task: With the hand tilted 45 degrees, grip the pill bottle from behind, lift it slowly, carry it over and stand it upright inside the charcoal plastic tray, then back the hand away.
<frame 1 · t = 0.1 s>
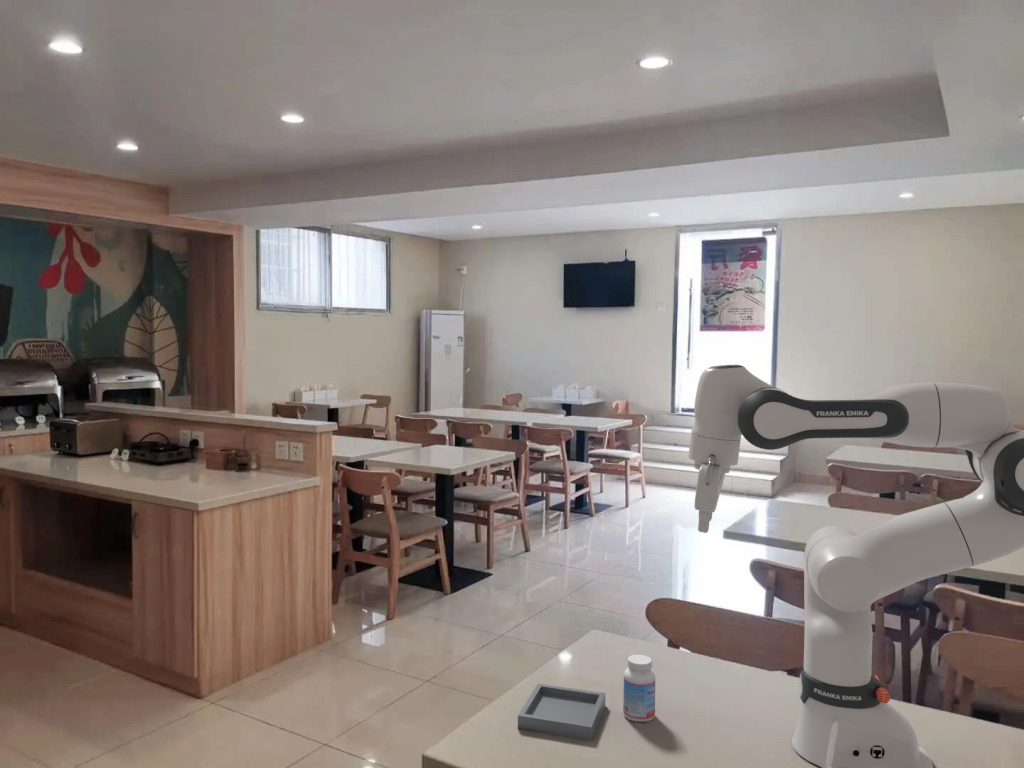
hand: (704, 525, 140), 39 cm above the table, tool pointing down, fingers open, 8 cm apart
pill bottle: (639, 716, 148), on the table
tray: (562, 716, 147), on the table
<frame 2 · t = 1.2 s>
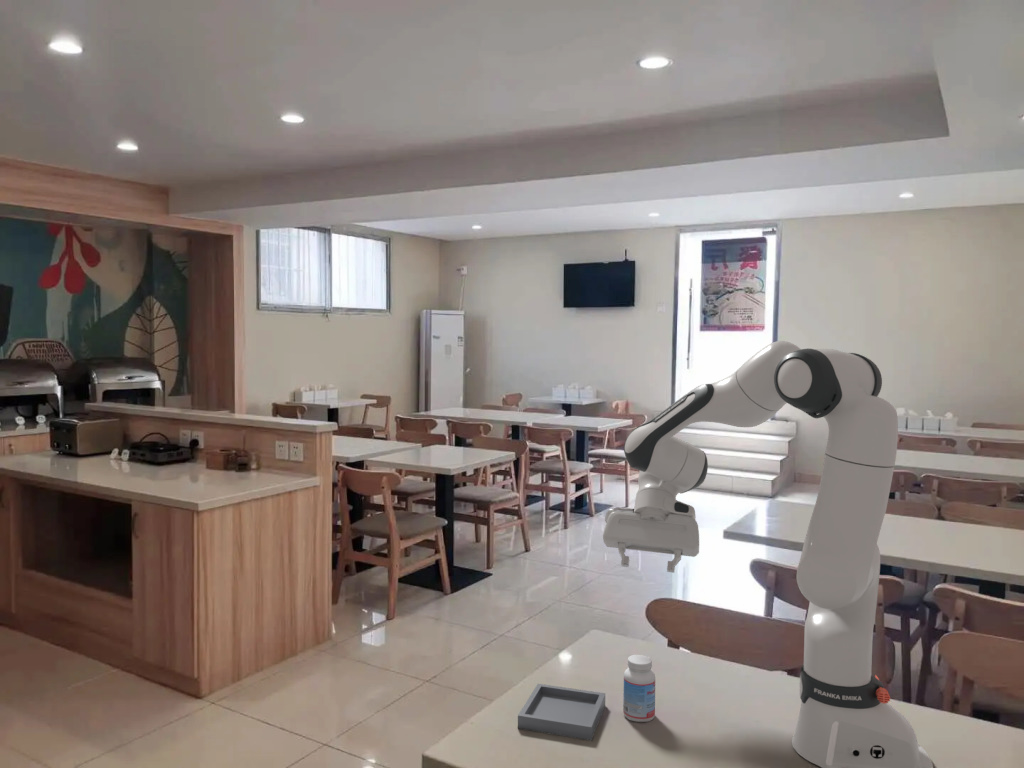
hand: (647, 568, 158), 26 cm above the table, tool tilted 45°, fingers open, 8 cm apart
nothing on the table moved.
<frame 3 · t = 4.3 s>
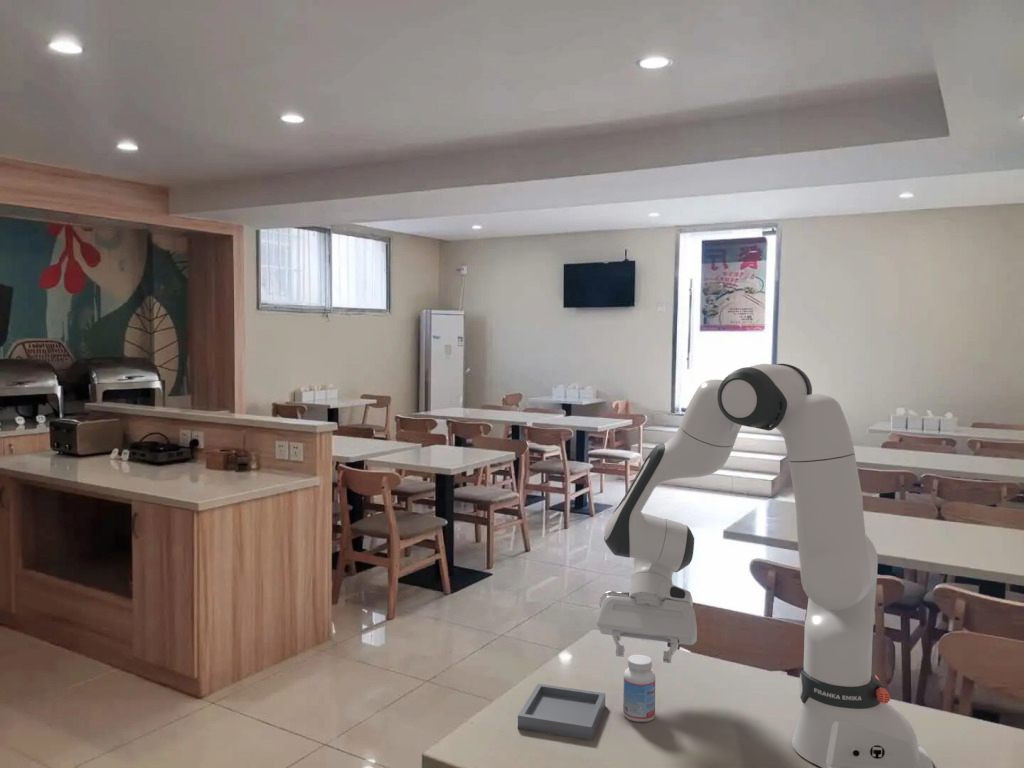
hand: (643, 658, 152), 9 cm above the table, tool tilted 45°, fingers open, 8 cm apart
nothing on the table moved.
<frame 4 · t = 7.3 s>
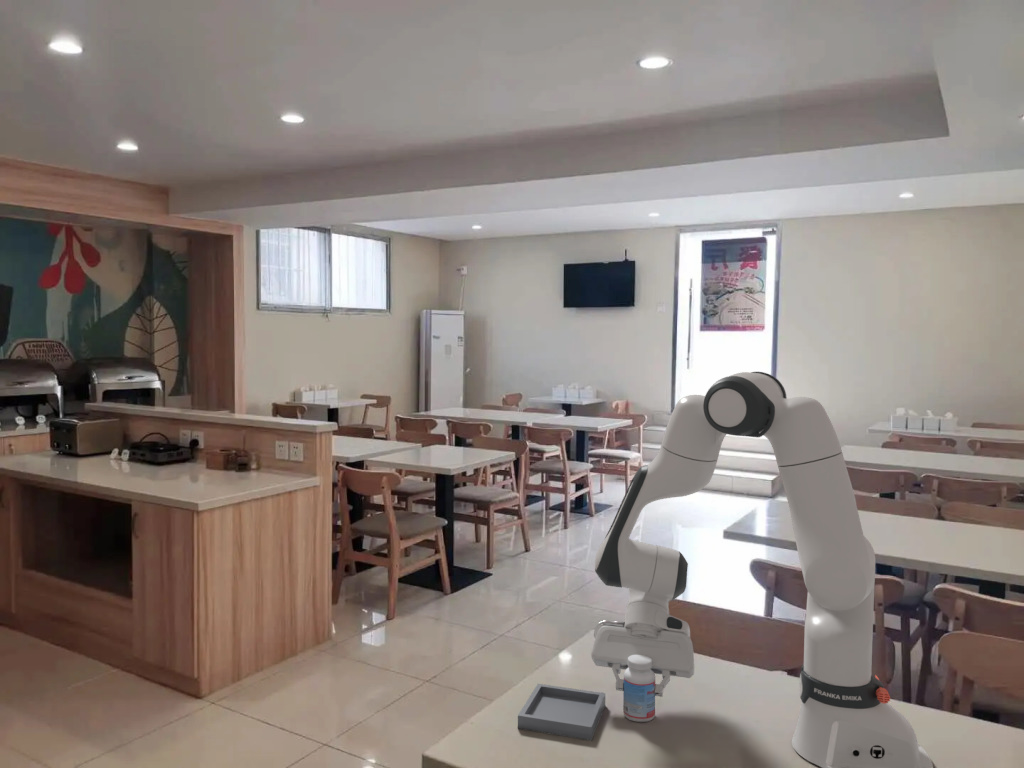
hand: (638, 692, 147), 5 cm above the table, tool tilted 45°, fingers closed on pill bottle, 6 cm apart
pill bottle: (639, 716, 148), on the table, touching gripper
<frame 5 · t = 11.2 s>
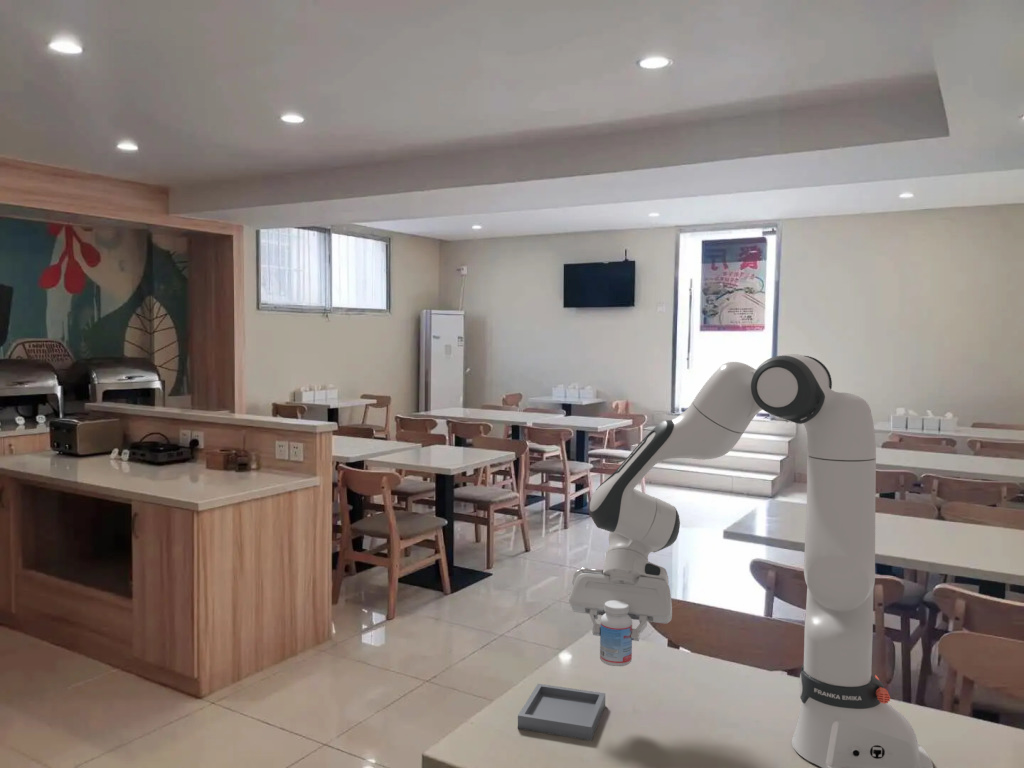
hand: (615, 637, 146), 16 cm above the table, tool tilted 45°, fingers closed on pill bottle, 6 cm apart
pill bottle: (615, 661, 147), point 11 cm above the table, touching gripper
when the fingers open (7 cm above the table, at t = 15.3 s): pill bottle drops 1 cm, resting on tray.
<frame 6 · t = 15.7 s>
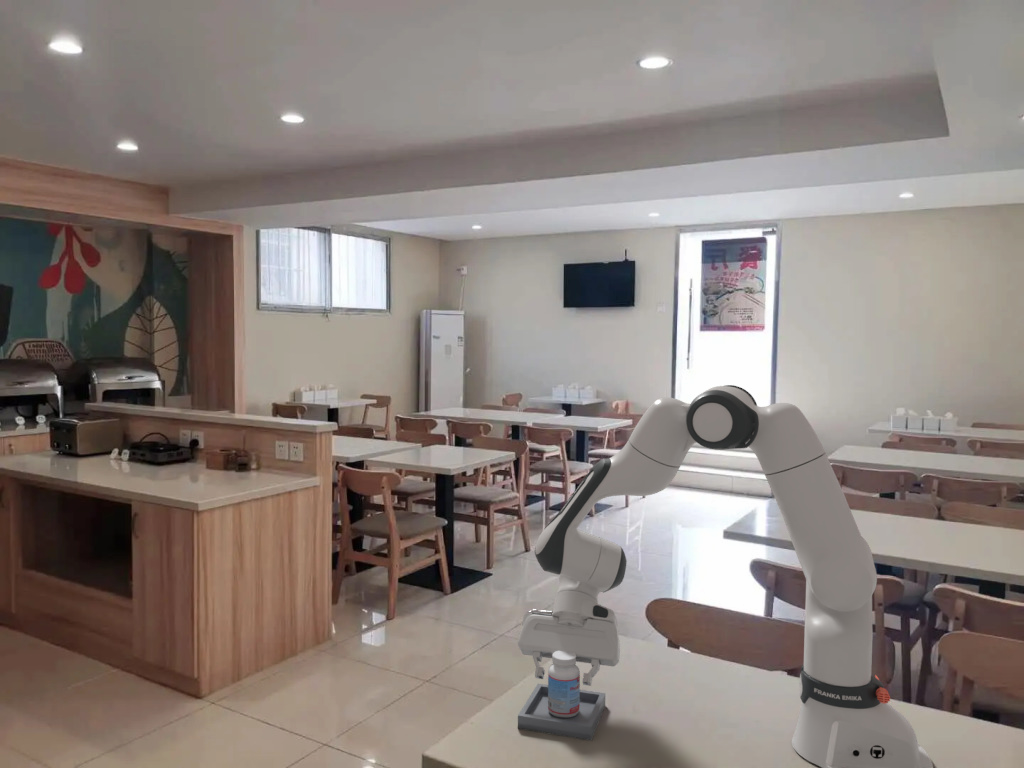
hand: (562, 681, 146), 7 cm above the table, tool tilted 45°, fingers open, 8 cm apart
pill bottle: (563, 712, 147), point 1 cm above the table, touching tray
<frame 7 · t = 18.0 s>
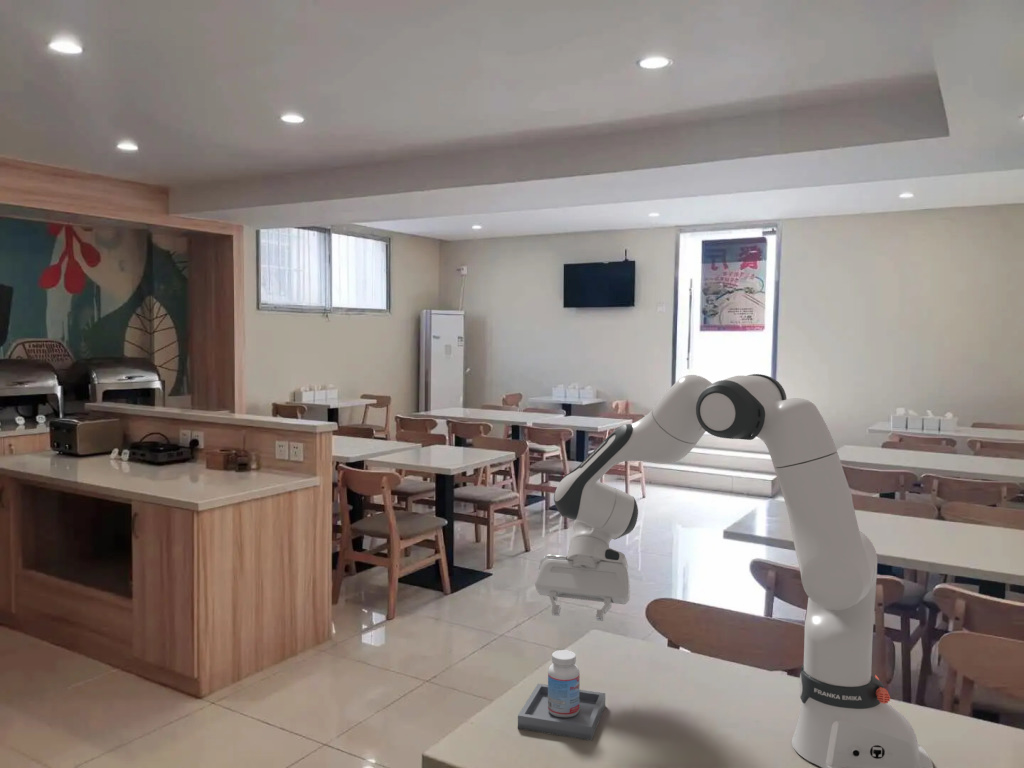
hand: (577, 617, 158), 15 cm above the table, tool tilted 45°, fingers open, 8 cm apart
nothing on the table moved.
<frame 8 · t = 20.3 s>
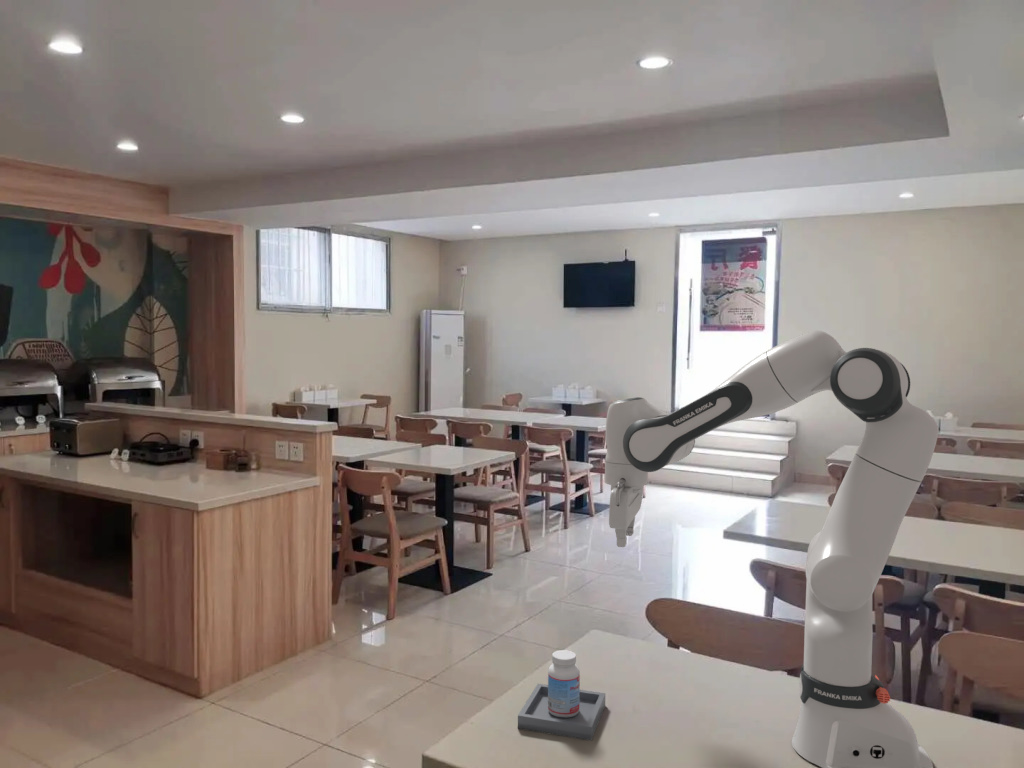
hand: (625, 540, 159), 31 cm above the table, tool pointing down, fingers open, 8 cm apart
nothing on the table moved.
at the end: pill bottle inside the target area on the tray (0.1 cm from its centre), point 0.8 cm above the tray's base; pill bottle tilted 0°; the gripper is holding nothing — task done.
